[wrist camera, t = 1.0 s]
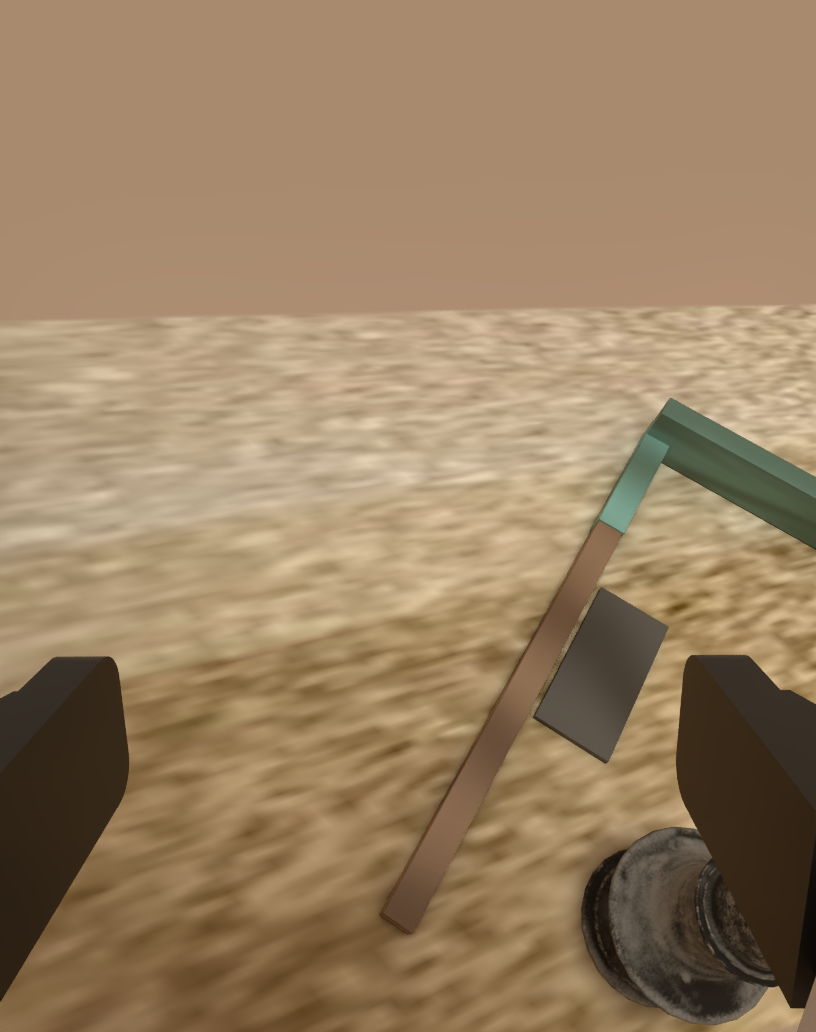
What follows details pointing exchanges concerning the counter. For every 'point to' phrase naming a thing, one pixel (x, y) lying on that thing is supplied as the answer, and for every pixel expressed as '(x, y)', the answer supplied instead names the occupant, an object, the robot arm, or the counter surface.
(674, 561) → the counter surface
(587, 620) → the track
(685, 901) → the salt shaker
